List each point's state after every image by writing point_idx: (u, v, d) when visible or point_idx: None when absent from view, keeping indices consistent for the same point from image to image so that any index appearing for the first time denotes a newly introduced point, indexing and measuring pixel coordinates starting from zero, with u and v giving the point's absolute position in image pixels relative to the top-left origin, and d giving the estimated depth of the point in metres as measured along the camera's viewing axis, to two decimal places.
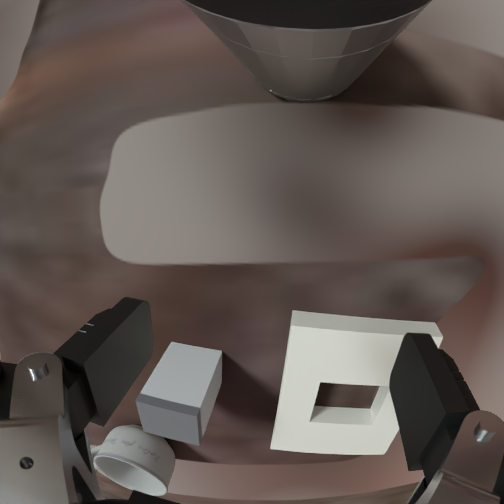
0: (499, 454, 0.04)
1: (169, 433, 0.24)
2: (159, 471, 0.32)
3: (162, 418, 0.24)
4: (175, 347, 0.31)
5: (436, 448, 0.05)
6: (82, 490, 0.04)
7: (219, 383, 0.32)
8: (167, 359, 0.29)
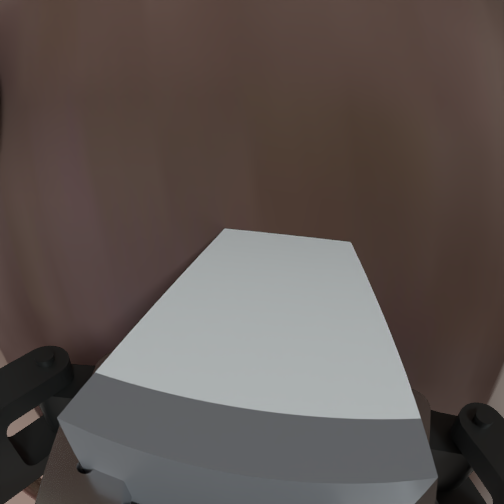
0: None
1: None
2: None
3: None
4: None
5: None
6: None
7: None
8: None
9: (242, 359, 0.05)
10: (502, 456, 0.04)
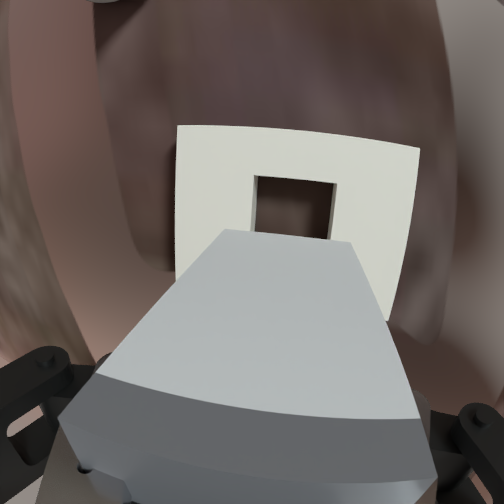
0: None
1: None
2: None
3: None
4: None
5: None
6: None
7: None
8: None
9: (242, 359, 0.05)
10: (502, 456, 0.04)
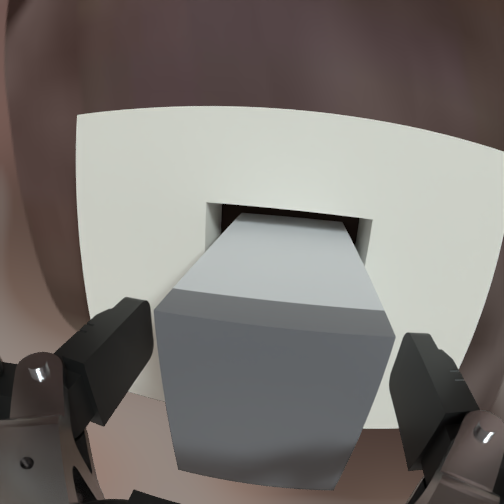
0: (498, 454, 0.04)
1: (203, 417, 0.06)
2: None
3: (299, 418, 0.06)
4: None
5: (436, 448, 0.05)
6: (82, 490, 0.04)
7: None
8: None
9: (268, 279, 0.07)
10: None
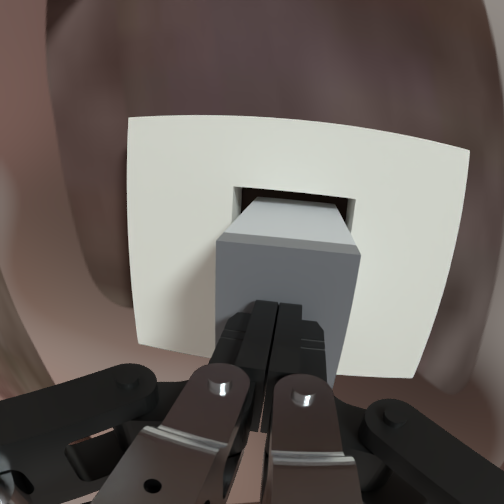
0: (305, 419, 0.05)
1: None
2: None
3: (305, 316, 0.10)
4: None
5: None
6: None
7: None
8: None
9: (283, 229, 0.11)
10: (426, 455, 0.04)
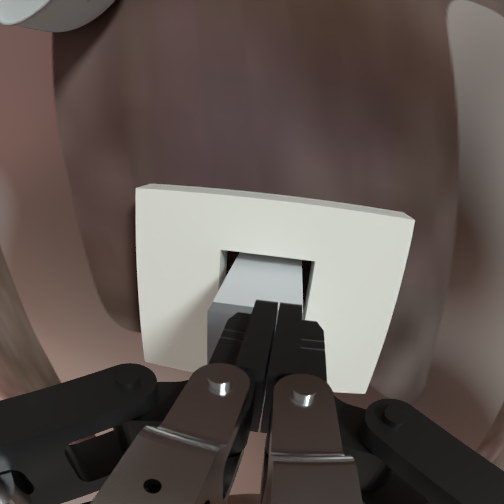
0: (305, 419, 0.05)
1: None
2: (62, 2, 0.13)
3: None
4: None
5: None
6: None
7: None
8: None
9: (253, 297, 0.16)
10: (426, 454, 0.04)
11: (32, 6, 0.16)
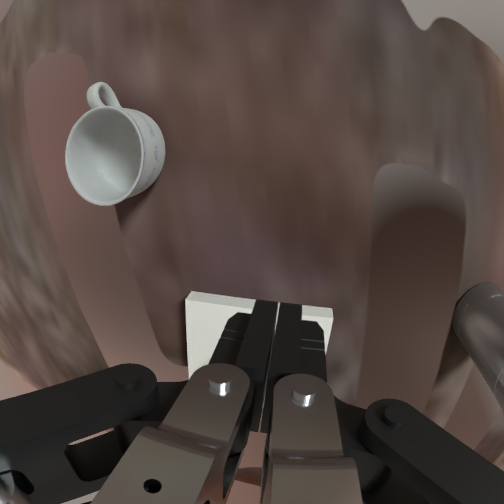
0: (305, 419, 0.05)
1: None
2: (128, 197, 0.32)
3: None
4: None
5: None
6: None
7: None
8: None
9: None
10: (426, 454, 0.04)
11: (93, 166, 0.35)
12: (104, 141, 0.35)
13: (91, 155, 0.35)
